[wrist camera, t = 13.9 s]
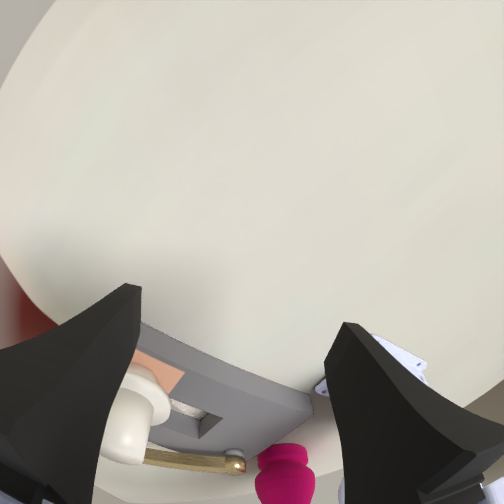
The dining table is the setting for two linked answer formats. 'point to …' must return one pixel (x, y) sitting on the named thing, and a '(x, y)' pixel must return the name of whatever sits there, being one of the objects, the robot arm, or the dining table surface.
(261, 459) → the pepper mill
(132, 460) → the plug
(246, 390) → the socket block
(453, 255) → the dining table surface
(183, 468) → the bar
